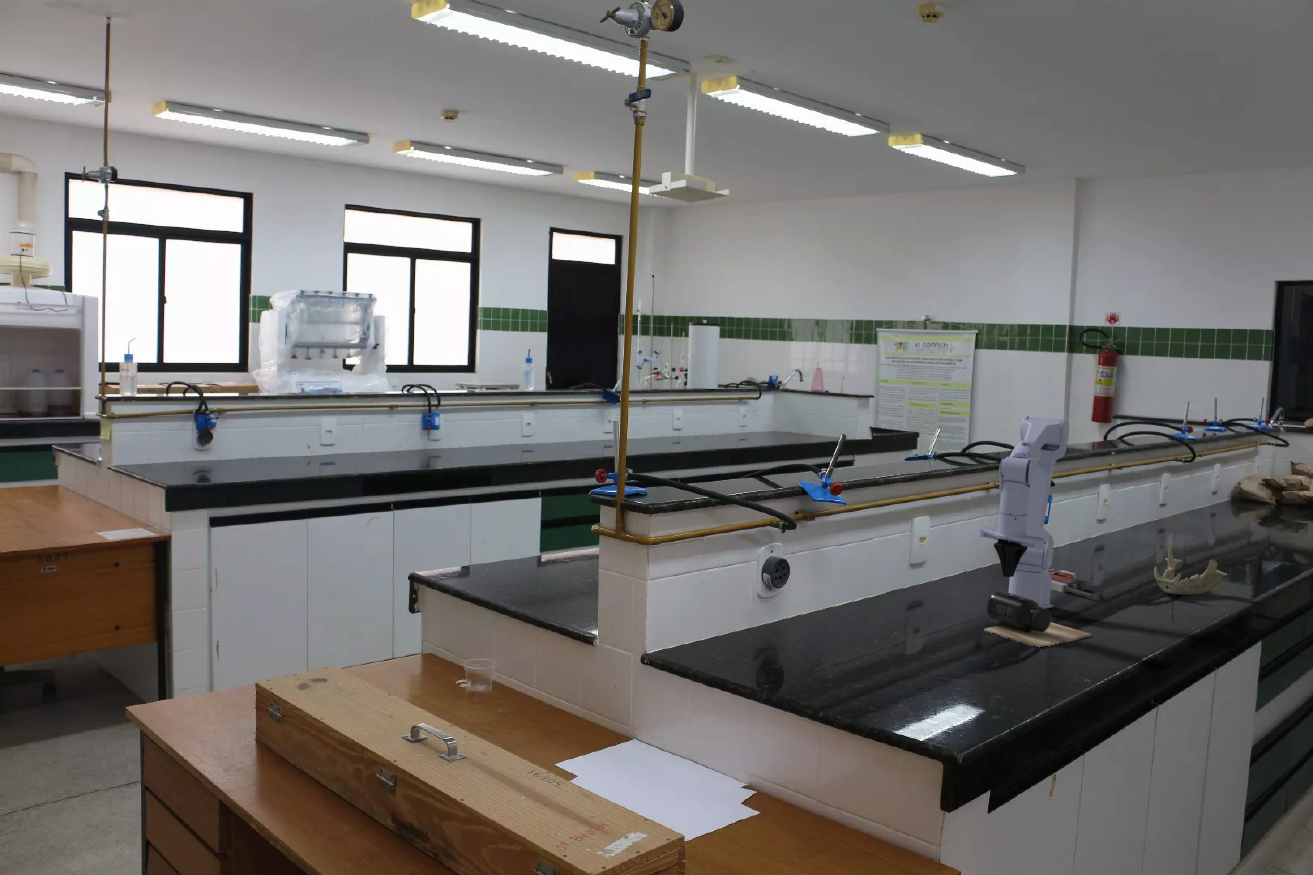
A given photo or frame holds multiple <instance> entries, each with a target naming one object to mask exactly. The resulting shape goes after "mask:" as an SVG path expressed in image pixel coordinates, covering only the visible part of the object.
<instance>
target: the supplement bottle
mask: <svg viewBox="0 0 1313 875" xmlns="http://www.w3.org/2000/svg"><path fill="white" fill-rule="evenodd" d="M988 598H989V599H988V601H987V603H986V615H987V617H988V618H989V620H990V621H991V622H994V623H997V624H999V625H1005V626H1008V627H1011V628H1014V629H1017V630H1020V631H1023V632H1030V631H1032V630H1034V631H1039V632H1044V631H1046V630H1047V629H1048V627H1049V626H1050V623H1051V622H1052V615H1051V612H1050V611H1049V609H1048V608H1046V609H1044V608H1042V607H1040V606H1039V605H1038V603H1037V602H1036V601H1034V600H1031V599H1028V598H1025V597H1021V596H1018V595H1015V594H1011V593H1009V591H1004V590H997V591H995V592H993V593H992V594H991V595H990V597H988Z"/></svg>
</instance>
